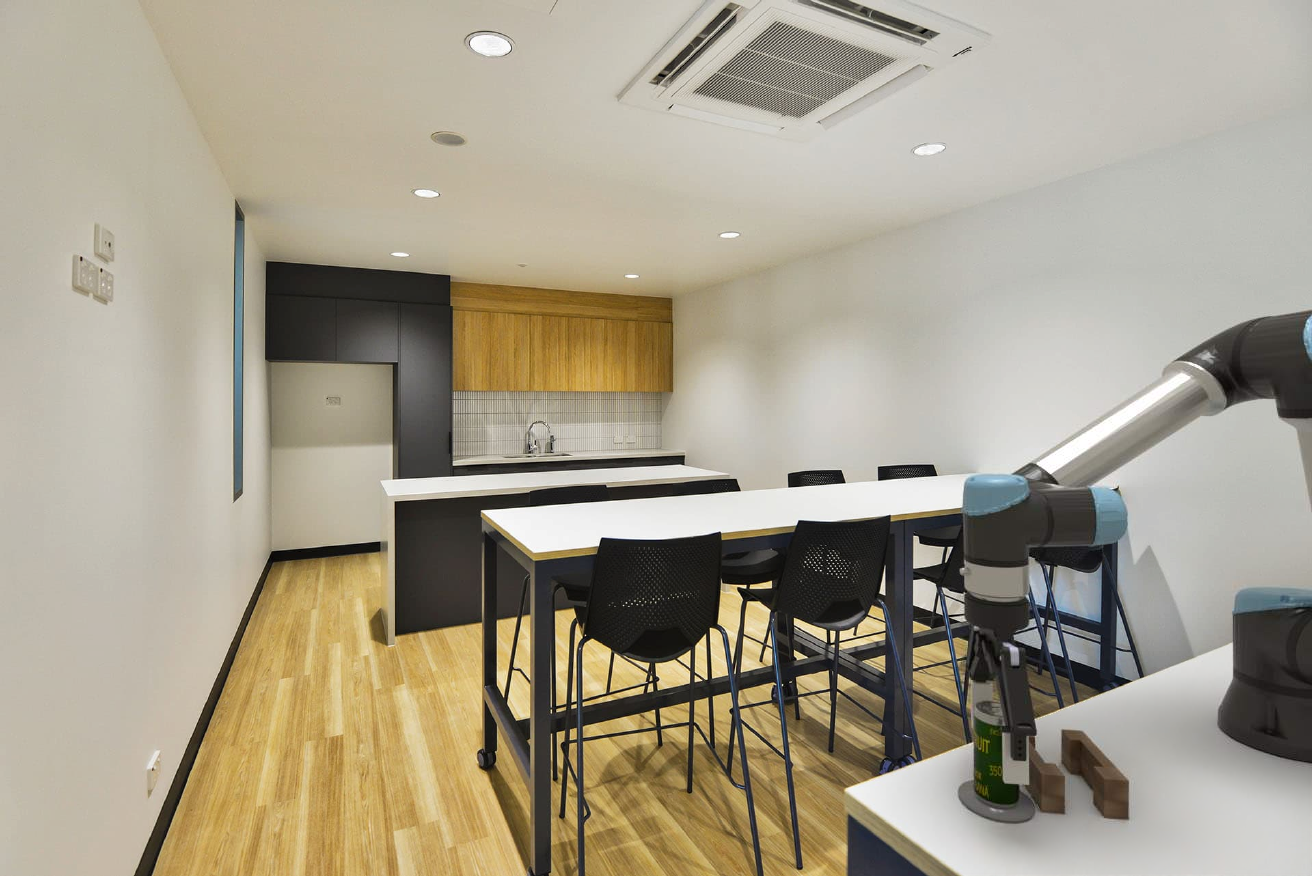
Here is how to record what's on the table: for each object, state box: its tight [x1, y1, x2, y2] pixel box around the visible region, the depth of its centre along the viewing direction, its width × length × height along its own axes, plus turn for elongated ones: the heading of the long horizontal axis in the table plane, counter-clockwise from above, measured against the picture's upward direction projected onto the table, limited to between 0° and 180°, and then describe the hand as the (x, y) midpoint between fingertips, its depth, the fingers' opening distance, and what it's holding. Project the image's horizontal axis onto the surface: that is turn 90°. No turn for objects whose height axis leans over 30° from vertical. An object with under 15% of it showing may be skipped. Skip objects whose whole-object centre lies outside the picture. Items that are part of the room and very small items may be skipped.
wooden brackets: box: [1023, 729, 1130, 821], centre depth 90 cm, size 10×13×5 cm
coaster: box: [957, 779, 1036, 824], centre depth 87 cm, size 9×9×1 cm
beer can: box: [973, 700, 1020, 809], centre depth 87 cm, size 5×5×12 cm
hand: (997, 753), depth 87 cm, fingers open, 13 cm apart
